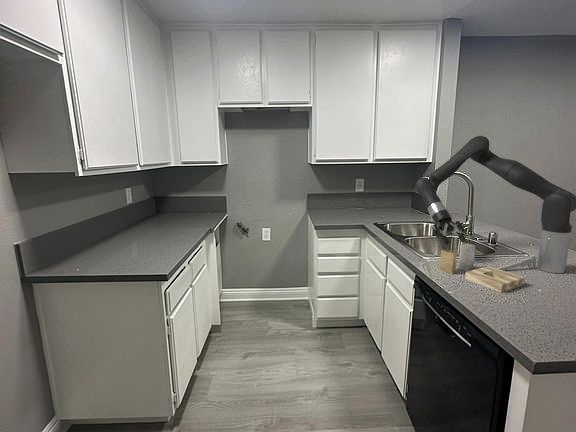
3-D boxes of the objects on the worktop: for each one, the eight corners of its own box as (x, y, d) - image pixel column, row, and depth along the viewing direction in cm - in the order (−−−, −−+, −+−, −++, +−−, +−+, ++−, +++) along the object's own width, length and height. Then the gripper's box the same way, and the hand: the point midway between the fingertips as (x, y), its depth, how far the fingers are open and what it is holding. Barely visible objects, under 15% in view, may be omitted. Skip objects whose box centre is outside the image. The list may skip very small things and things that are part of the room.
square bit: (464, 267, 137) (466, 243, 135) (473, 269, 133) (475, 245, 131) (458, 268, 135) (460, 244, 133) (466, 271, 132) (469, 246, 129)
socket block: (487, 272, 129) (488, 266, 129) (524, 284, 117) (525, 277, 116) (465, 279, 124) (465, 272, 123) (501, 292, 111) (501, 284, 111)
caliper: (533, 267, 134) (534, 254, 133) (535, 268, 133) (537, 254, 132) (492, 272, 131) (493, 257, 130) (494, 273, 130) (495, 258, 129)
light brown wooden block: (442, 268, 135) (444, 249, 134) (455, 273, 130) (456, 252, 128) (439, 269, 135) (441, 249, 133) (451, 274, 129) (453, 253, 127)
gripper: (447, 216, 152) (464, 245, 143) (422, 219, 148) (438, 248, 140) (456, 207, 145) (474, 236, 137) (430, 210, 142) (447, 240, 134)
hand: (456, 242), depth 138 cm, fingers open, 8 cm apart
